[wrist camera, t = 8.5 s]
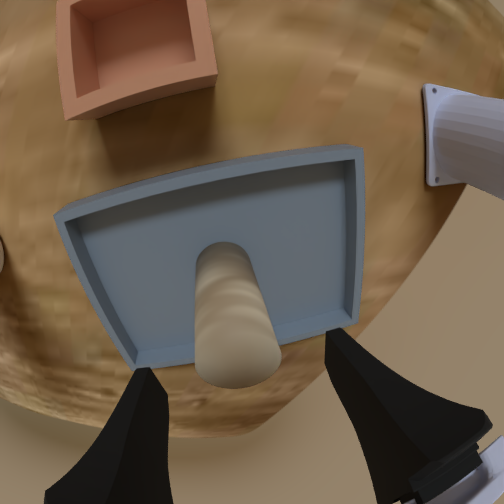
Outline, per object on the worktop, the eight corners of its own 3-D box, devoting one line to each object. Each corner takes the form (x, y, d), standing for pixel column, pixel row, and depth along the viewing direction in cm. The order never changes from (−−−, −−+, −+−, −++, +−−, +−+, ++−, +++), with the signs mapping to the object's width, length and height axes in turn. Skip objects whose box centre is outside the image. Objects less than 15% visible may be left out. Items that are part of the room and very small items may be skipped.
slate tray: (346, 144, 16) (363, 148, 14) (347, 307, 22) (357, 322, 20) (67, 204, 14) (53, 215, 13) (135, 352, 20) (131, 370, 19)
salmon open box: (198, -13, 10) (197, -45, 6) (215, 86, 13) (217, 73, 10) (84, 21, 9) (56, 1, 6) (96, 119, 13) (65, 120, 9)
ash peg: (245, 235, 17) (276, 323, 10) (254, 283, 18) (284, 378, 11) (189, 248, 17) (183, 343, 10) (203, 294, 18) (208, 394, 11)
